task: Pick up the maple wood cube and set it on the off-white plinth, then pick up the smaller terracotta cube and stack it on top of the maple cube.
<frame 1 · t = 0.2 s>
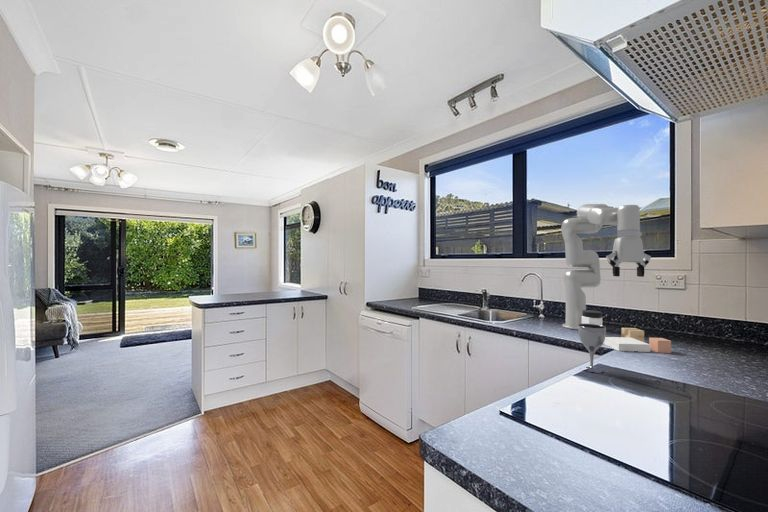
hand: (628, 276, 136), 31 cm above the worktop, tool pointing down, fingers open, 9 cm apart
plinth: (625, 347, 141), on the worktop
maple cube: (632, 342, 150), on the worktop
terracotta cube: (660, 351, 136), on the worktop
wine glass: (591, 370, 112), on the worktop
jar: (591, 336, 162), on the worktop
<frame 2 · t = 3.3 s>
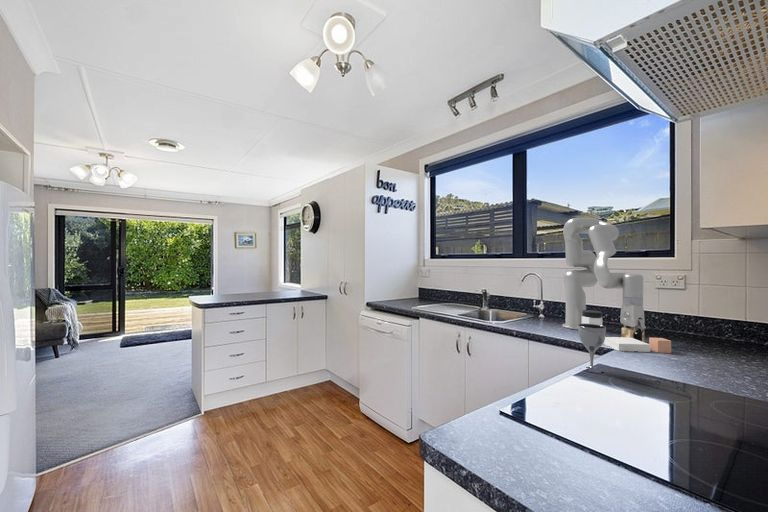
hand: (632, 340, 150), 1 cm above the worktop, tool pointing down, fingers closed on maple cube, 6 cm apart
maple cube: (632, 342, 150), on the worktop, touching gripper
everything else where it was.
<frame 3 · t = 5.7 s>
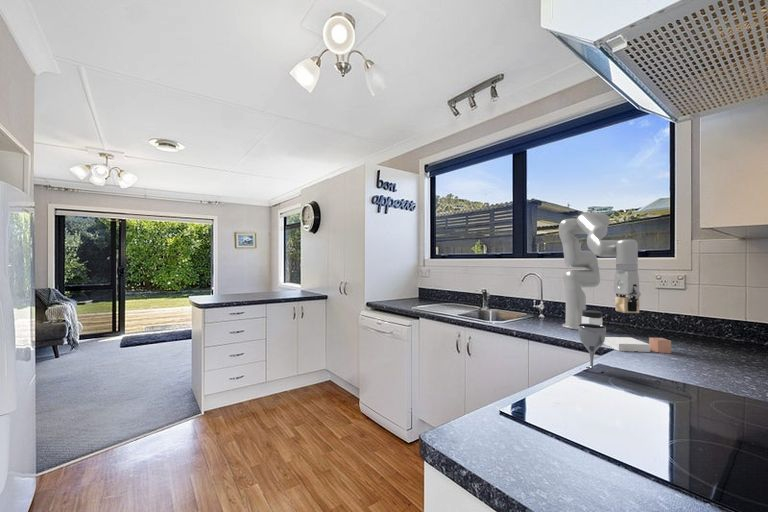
hand: (627, 309, 142), 16 cm above the worktop, tool pointing down, fingers closed on maple cube, 6 cm apart
maple cube: (627, 311, 142), point 15 cm above the worktop, touching gripper
everything else where it was.
when the fingers open (5 cm above the worktop, at t = 8.3 s): maple cube drops 1 cm, resting on plinth.
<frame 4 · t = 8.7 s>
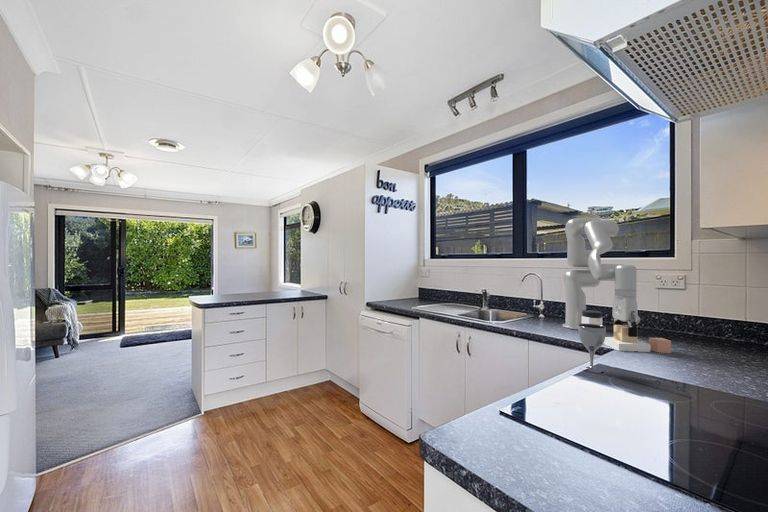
hand: (625, 334, 141), 6 cm above the worktop, tool pointing down, fingers open, 9 cm apart
maple cube: (625, 340, 141), point 3 cm above the worktop, touching plinth
everything else where it was.
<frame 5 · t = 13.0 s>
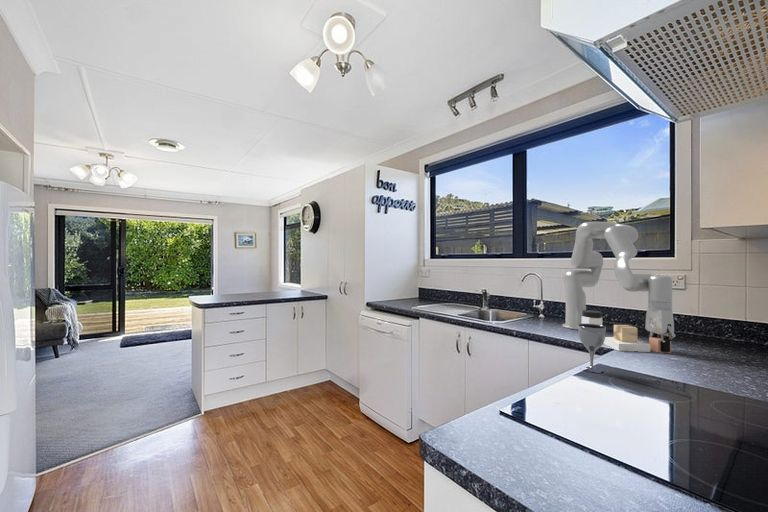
hand: (660, 349, 136), 1 cm above the worktop, tool pointing down, fingers closed on terracotta cube, 5 cm apart
terracotta cube: (660, 351, 136), on the worktop, touching gripper
everything else where it was.
when the fingers open (11 cm above the worktop, at t = 17.2 s): terracotta cube stays where it is, resting on maple cube.
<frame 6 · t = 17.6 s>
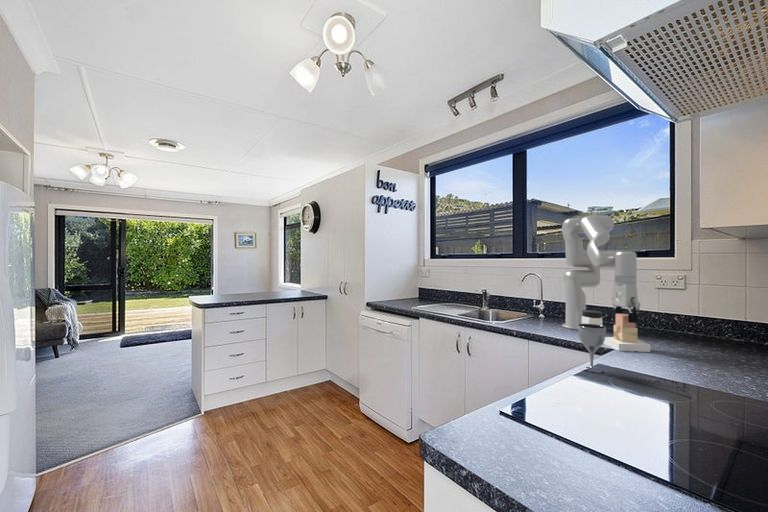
hand: (625, 320, 141), 12 cm above the worktop, tool pointing down, fingers open, 9 cm apart
maple cube: (625, 340, 141), point 3 cm above the worktop, touching plinth, terracotta cube
terracotta cube: (625, 326, 141), point 9 cm above the worktop, touching maple cube
everything else where it was.
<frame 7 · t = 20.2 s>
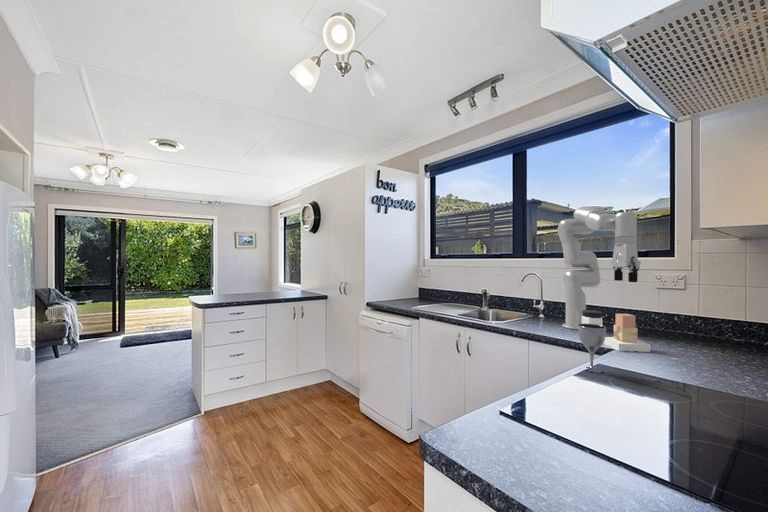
hand: (625, 281, 141), 28 cm above the worktop, tool pointing down, fingers open, 9 cm apart
nothing on the worktop moved.
at the end: maple cube 0.1 cm off-centre on the plinth, point 3.0 cm above the plinth's base; terracotta cube 0.1 cm off-centre on the plinth, point 9.0 cm above the plinth's base; terracotta cube tilted 0° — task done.
